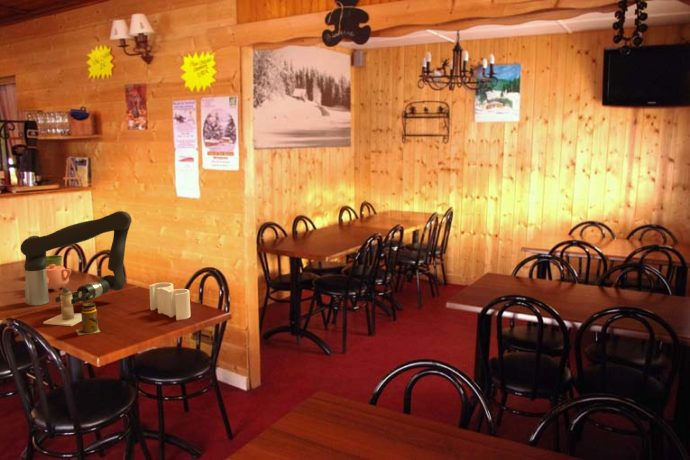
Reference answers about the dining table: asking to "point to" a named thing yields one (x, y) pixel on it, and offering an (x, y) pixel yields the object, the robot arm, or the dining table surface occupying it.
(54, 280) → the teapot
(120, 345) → the dining table surface
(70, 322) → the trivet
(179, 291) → the cream triple cylinder
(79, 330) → the condiment
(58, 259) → the plant pot
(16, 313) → the dining table surface
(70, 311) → the pepper mill
